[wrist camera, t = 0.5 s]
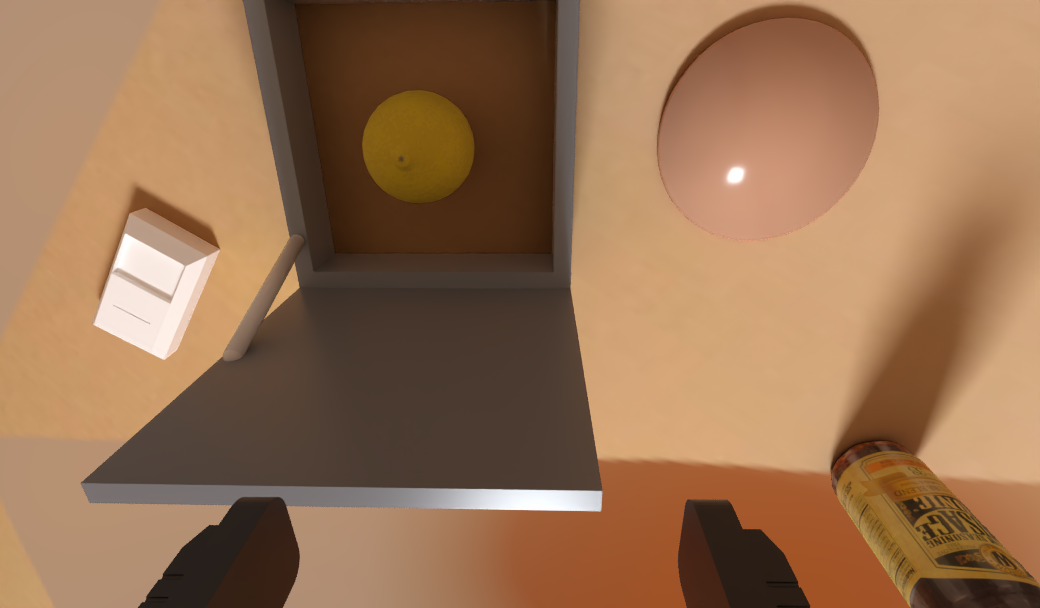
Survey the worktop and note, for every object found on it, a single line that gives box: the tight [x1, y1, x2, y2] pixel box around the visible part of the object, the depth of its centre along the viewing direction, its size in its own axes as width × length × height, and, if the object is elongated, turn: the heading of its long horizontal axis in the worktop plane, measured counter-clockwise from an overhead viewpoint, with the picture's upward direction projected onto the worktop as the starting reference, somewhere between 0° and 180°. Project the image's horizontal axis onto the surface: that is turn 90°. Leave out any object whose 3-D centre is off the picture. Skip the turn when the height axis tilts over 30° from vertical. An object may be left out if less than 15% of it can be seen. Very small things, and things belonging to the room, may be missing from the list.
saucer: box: [657, 18, 879, 241], centre depth 29 cm, size 12×12×1 cm
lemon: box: [362, 90, 475, 204], centre depth 27 cm, size 6×6×8 cm
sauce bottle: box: [831, 441, 1040, 608], centre depth 30 cm, size 6×6×20 cm
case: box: [81, 0, 602, 511], centre depth 21 cm, size 17×16×20 cm
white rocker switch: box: [92, 208, 220, 360], centre depth 34 cm, size 5×9×3 cm, turn 147°
